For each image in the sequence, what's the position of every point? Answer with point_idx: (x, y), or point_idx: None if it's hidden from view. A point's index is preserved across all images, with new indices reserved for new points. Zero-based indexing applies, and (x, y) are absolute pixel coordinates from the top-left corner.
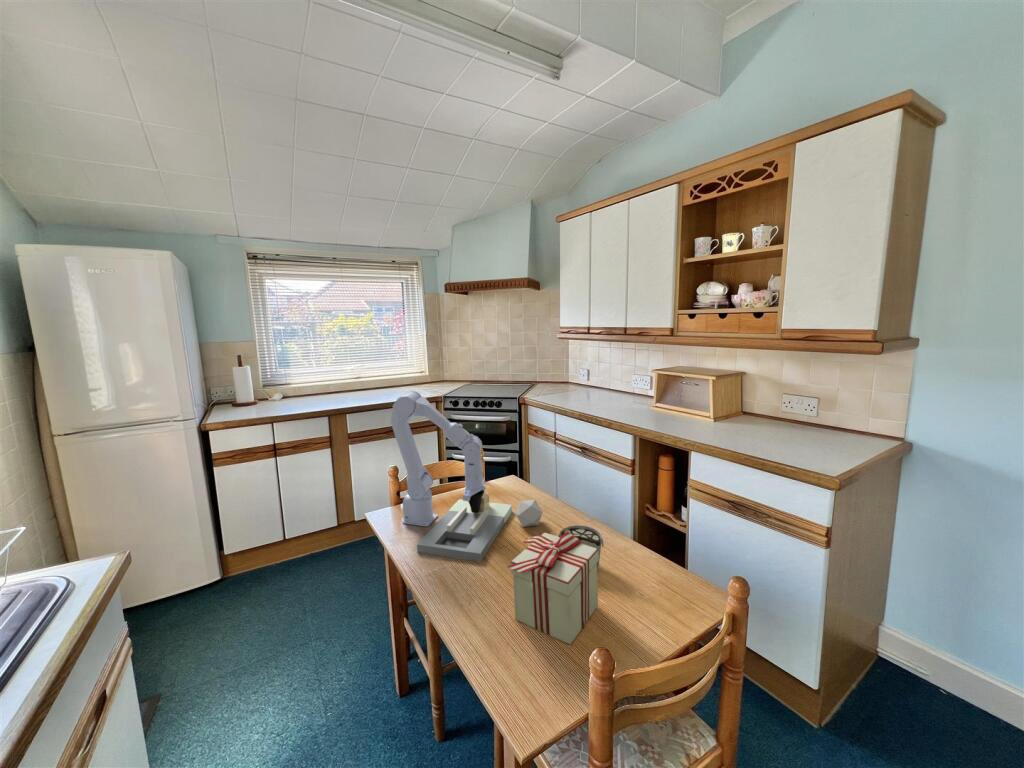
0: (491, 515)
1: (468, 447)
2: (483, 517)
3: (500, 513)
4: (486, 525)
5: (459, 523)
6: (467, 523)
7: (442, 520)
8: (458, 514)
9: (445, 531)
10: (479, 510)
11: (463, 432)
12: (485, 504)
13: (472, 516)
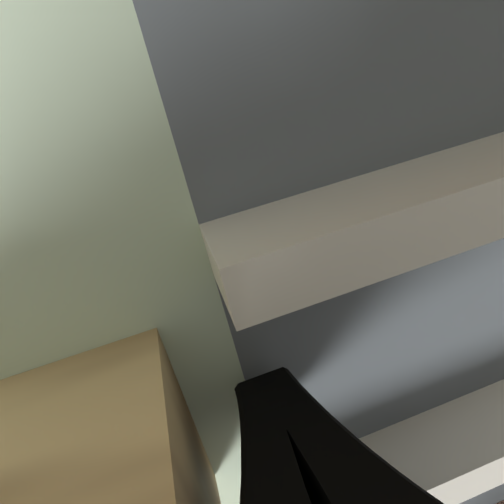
0: (183, 170)
1: None
2: (454, 177)
3: (1, 44)
4: (500, 46)
5: (501, 365)
6: (491, 303)
7: (477, 496)
8: (497, 471)
9: None
10: (182, 404)
11: None
12: (89, 435)
13: (329, 370)
